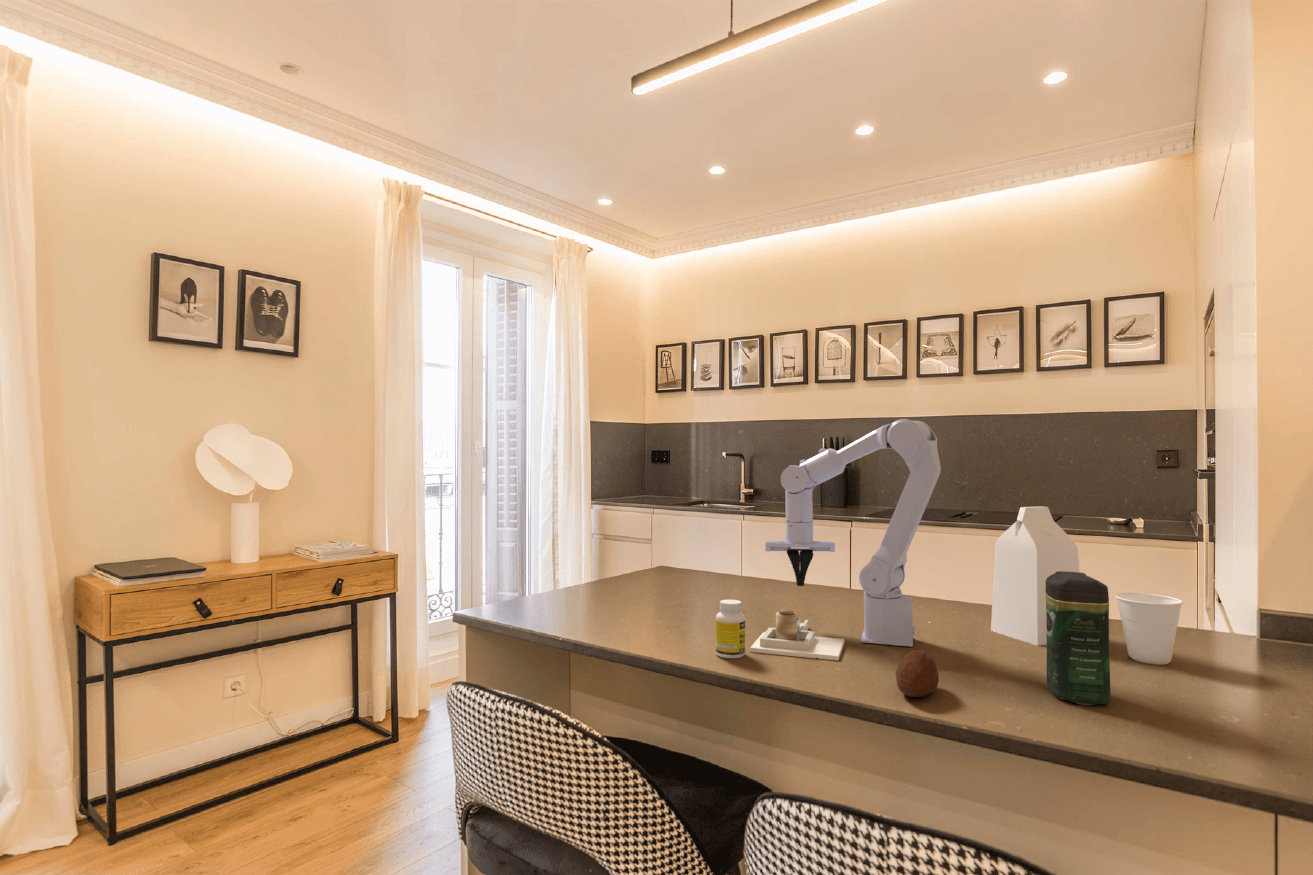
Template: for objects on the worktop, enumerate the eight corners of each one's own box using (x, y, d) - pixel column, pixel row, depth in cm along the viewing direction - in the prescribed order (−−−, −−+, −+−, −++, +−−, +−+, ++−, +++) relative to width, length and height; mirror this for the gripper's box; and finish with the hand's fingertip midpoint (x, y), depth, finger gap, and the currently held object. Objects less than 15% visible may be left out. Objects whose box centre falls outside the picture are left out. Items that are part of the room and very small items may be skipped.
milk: (1035, 626, 146) (1033, 504, 146) (1084, 640, 135) (1081, 508, 135) (990, 631, 142) (988, 505, 143) (1037, 645, 131) (1035, 510, 132)
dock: (848, 630, 142) (848, 620, 143) (838, 660, 122) (838, 648, 122) (772, 624, 148) (772, 614, 148) (750, 651, 127) (750, 640, 128)
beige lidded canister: (797, 645, 132) (797, 608, 132) (796, 650, 128) (796, 613, 128) (777, 643, 133) (776, 607, 133) (775, 649, 129) (774, 612, 129)
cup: (1123, 648, 128) (1121, 590, 129) (1189, 659, 121) (1187, 597, 122) (1110, 660, 122) (1108, 598, 122) (1179, 672, 114) (1177, 606, 115)
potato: (887, 701, 102) (887, 658, 102) (904, 679, 112) (903, 640, 112) (930, 709, 99) (930, 664, 99) (943, 686, 108) (943, 645, 109)
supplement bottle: (744, 660, 123) (743, 605, 123) (714, 658, 124) (713, 604, 124) (746, 651, 128) (746, 599, 128) (717, 650, 129) (717, 597, 129)
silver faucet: (800, 629, 140) (800, 612, 140) (794, 639, 133) (794, 620, 133) (791, 628, 141) (791, 611, 141) (784, 638, 133) (784, 620, 133)
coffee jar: (1118, 710, 98) (1115, 580, 98) (1055, 703, 100) (1053, 577, 101) (1099, 688, 107) (1096, 569, 107) (1042, 683, 110) (1040, 567, 110)
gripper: (766, 523, 143) (766, 588, 143) (836, 523, 142) (837, 589, 141) (764, 520, 150) (765, 582, 150) (831, 520, 149) (832, 582, 148)
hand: (800, 585), depth 146 cm, fingers closed
